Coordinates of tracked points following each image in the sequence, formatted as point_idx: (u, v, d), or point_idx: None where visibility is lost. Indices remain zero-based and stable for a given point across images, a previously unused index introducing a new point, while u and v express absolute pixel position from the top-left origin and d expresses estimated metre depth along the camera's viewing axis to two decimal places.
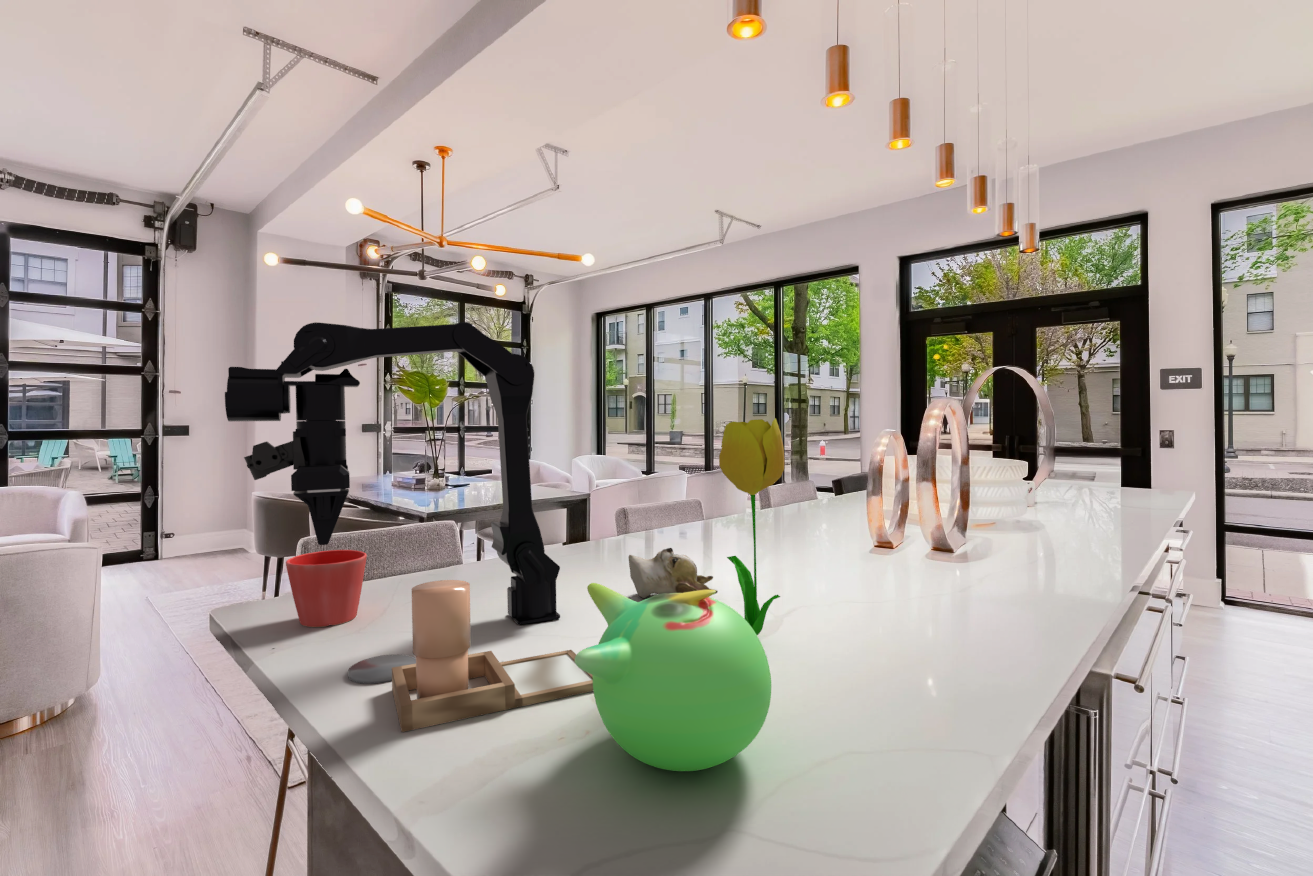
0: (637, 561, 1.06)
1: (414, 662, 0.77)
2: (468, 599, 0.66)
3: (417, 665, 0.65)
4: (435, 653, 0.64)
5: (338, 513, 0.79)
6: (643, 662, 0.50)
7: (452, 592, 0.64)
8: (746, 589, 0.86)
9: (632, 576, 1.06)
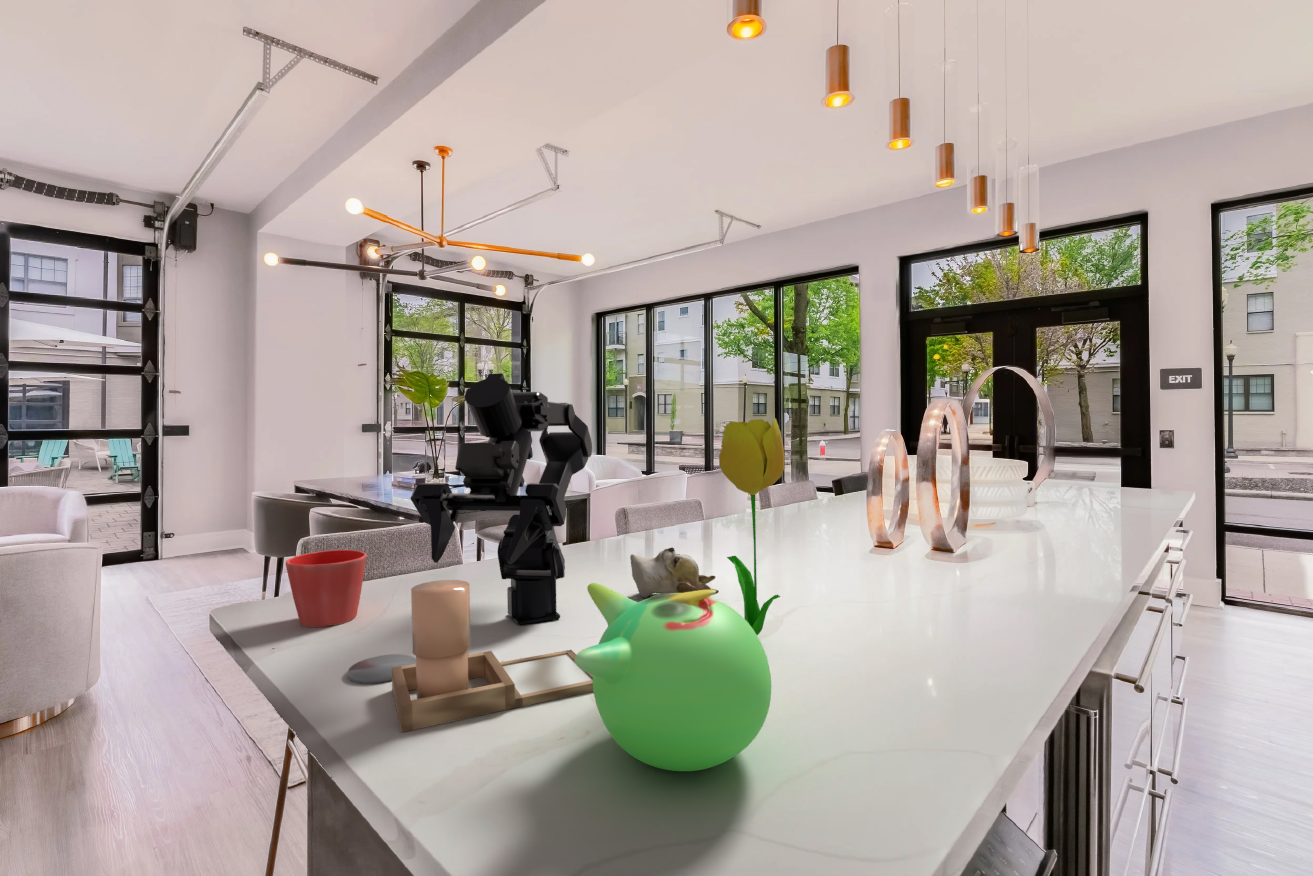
0: (638, 560, 1.07)
1: (414, 662, 0.77)
2: (467, 598, 0.66)
3: (417, 665, 0.65)
4: (435, 653, 0.64)
5: (531, 542, 0.78)
6: (643, 662, 0.50)
7: (452, 592, 0.64)
8: (746, 589, 0.86)
9: (634, 576, 1.07)
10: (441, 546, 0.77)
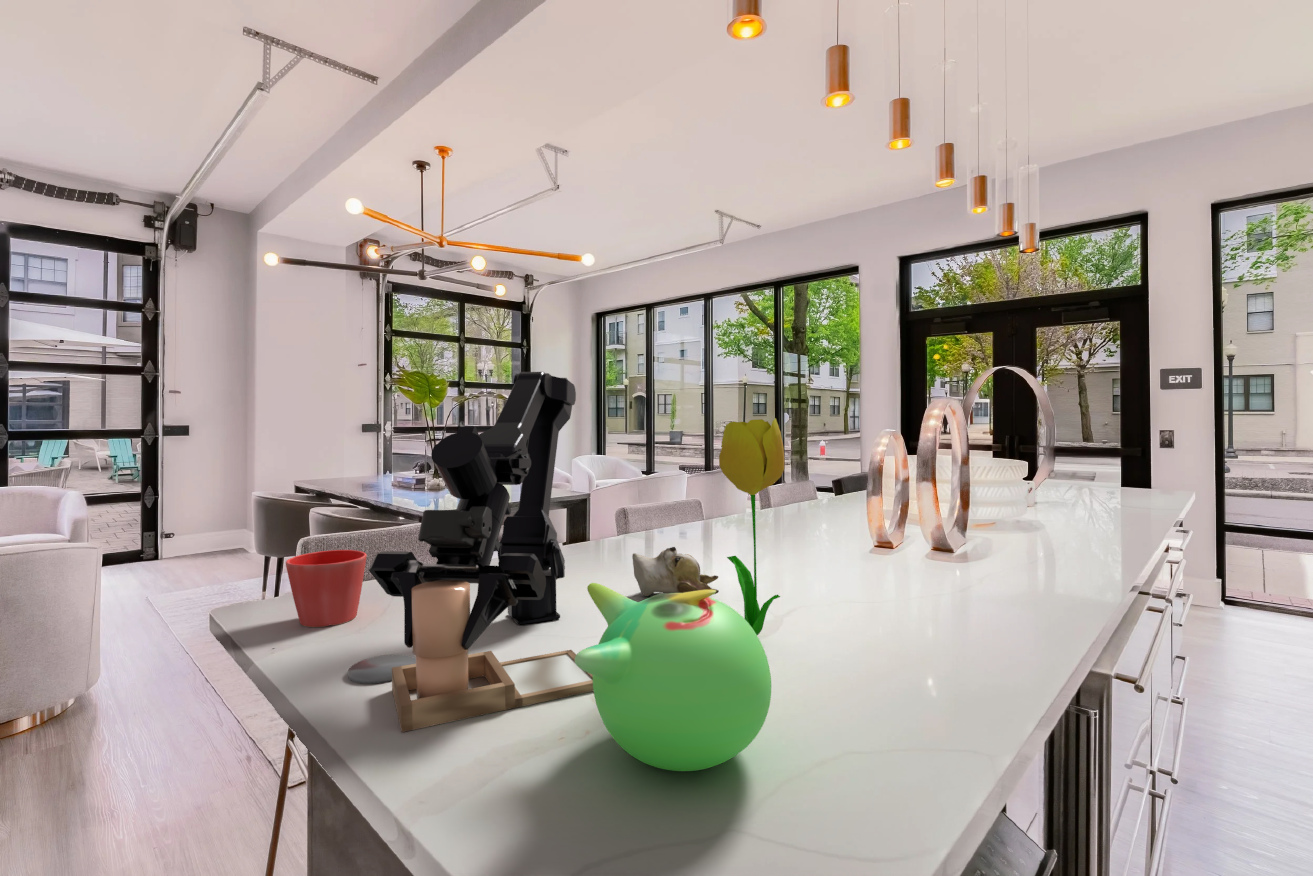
0: (640, 559, 1.07)
1: (414, 662, 0.77)
2: (468, 598, 0.66)
3: (417, 665, 0.65)
4: (435, 653, 0.64)
5: (492, 620, 0.69)
6: (643, 662, 0.50)
7: (452, 592, 0.64)
8: (746, 589, 0.86)
9: (635, 574, 1.08)
10: None
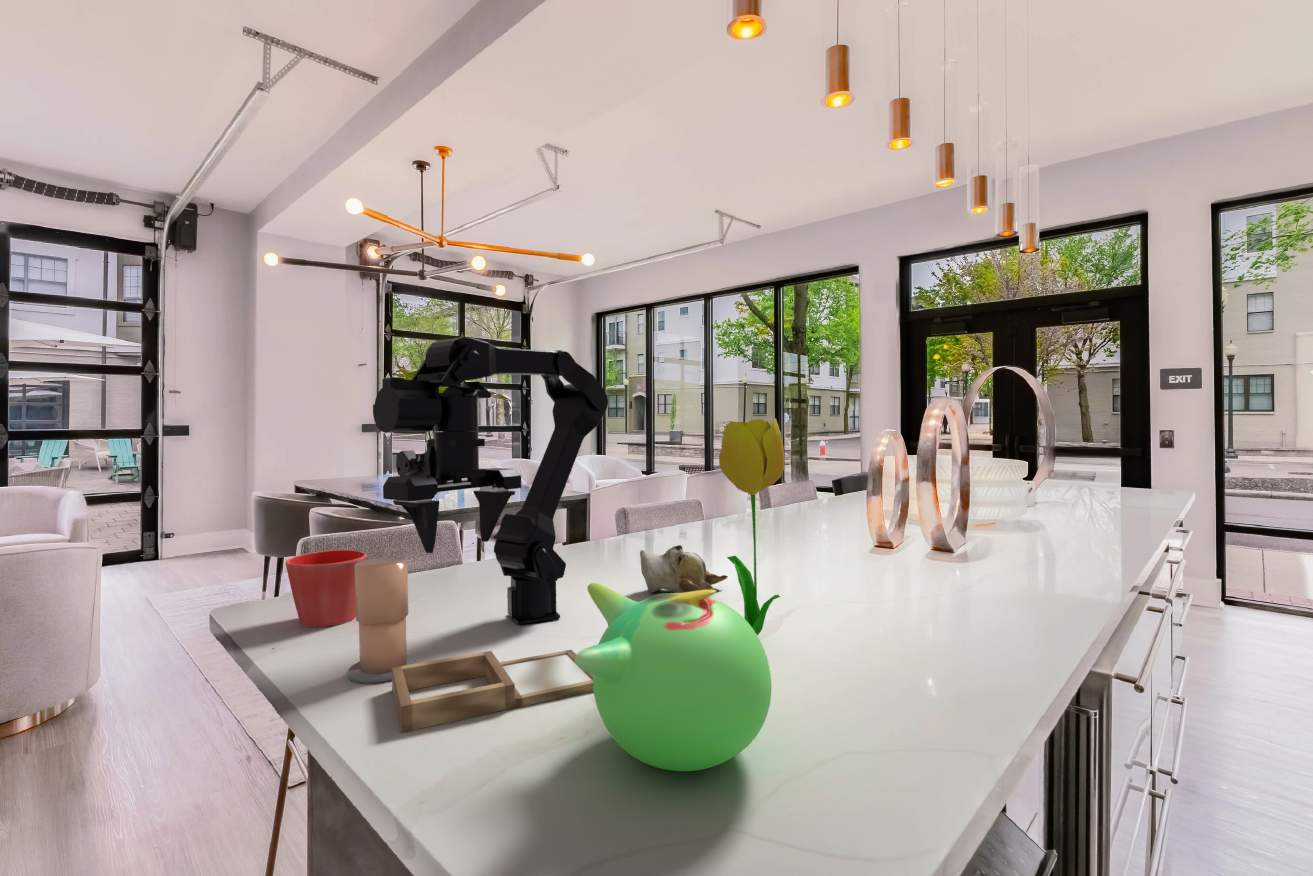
0: (646, 556, 1.10)
1: (414, 662, 0.77)
2: (397, 575, 0.75)
3: None
4: (363, 619, 0.73)
5: (428, 524, 0.80)
6: (643, 662, 0.50)
7: (377, 567, 0.73)
8: (746, 589, 0.86)
9: (642, 571, 1.10)
10: (485, 526, 0.89)
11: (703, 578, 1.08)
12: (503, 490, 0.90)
